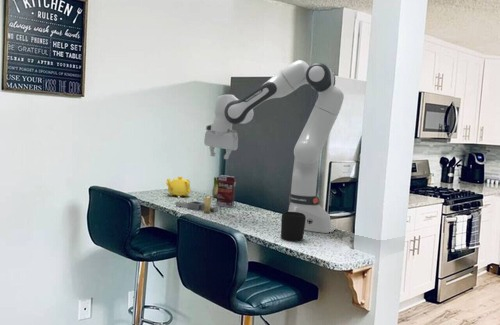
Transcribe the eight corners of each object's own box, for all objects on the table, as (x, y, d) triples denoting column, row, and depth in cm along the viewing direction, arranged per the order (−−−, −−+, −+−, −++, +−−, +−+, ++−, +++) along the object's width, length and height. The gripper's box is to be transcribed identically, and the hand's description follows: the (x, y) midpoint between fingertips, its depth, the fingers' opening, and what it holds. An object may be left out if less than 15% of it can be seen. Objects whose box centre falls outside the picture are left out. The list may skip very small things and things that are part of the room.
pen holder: (308, 240, 194) (310, 215, 194) (293, 243, 188) (296, 217, 187) (289, 235, 201) (292, 210, 200) (274, 237, 194) (277, 212, 193)
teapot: (165, 193, 285) (167, 174, 284) (189, 194, 287) (191, 175, 286) (165, 197, 271) (166, 177, 270) (190, 198, 273) (191, 178, 272)
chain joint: (218, 211, 241) (219, 205, 241) (212, 213, 235) (212, 206, 235) (181, 205, 251) (181, 199, 250) (173, 206, 245) (174, 200, 245)
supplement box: (215, 205, 256) (218, 175, 255) (218, 204, 261) (220, 174, 260) (231, 207, 254) (234, 177, 253) (234, 206, 259) (236, 176, 258)
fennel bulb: (223, 197, 286) (225, 177, 285) (220, 198, 281) (221, 177, 280) (214, 196, 288) (215, 176, 287) (211, 197, 283) (212, 176, 282)
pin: (211, 213, 235) (212, 196, 235) (208, 213, 233) (209, 197, 232) (205, 212, 237) (206, 195, 236) (202, 212, 234) (203, 196, 233)
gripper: (242, 131, 227) (239, 160, 228) (213, 127, 241) (210, 155, 242) (232, 130, 222) (229, 160, 224) (203, 126, 237) (200, 154, 238)
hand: (219, 157), depth 233 cm, fingers open, 8 cm apart
